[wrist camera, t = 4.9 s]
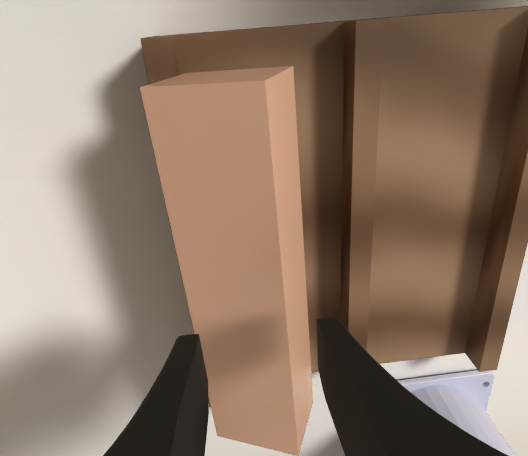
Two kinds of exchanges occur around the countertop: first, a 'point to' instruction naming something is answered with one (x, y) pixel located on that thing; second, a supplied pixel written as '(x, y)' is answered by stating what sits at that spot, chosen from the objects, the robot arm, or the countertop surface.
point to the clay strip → (239, 242)
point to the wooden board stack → (399, 169)
